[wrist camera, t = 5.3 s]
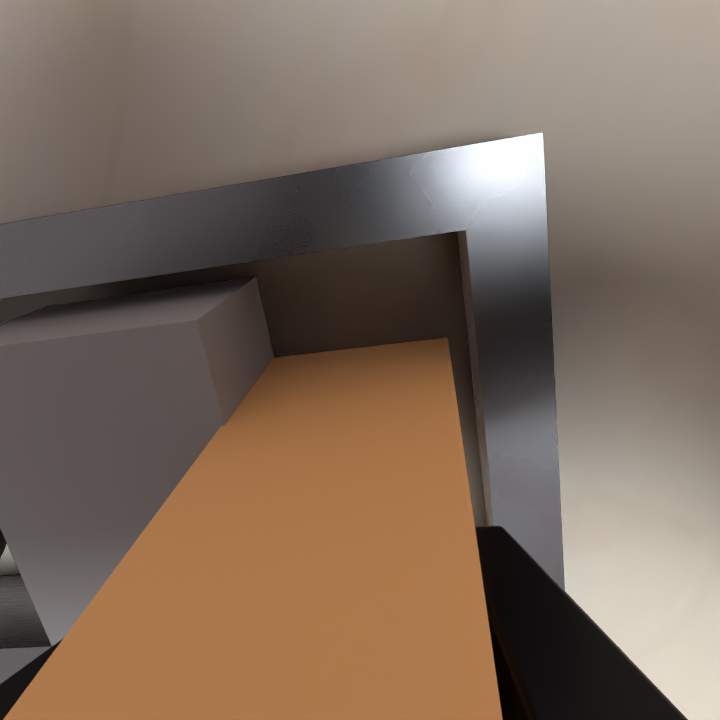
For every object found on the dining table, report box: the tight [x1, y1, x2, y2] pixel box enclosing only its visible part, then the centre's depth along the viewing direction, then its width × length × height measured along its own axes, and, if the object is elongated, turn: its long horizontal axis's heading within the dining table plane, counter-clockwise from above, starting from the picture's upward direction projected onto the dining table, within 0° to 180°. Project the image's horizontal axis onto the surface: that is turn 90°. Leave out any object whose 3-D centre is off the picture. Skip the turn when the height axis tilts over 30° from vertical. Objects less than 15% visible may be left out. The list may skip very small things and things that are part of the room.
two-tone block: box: [0, 277, 503, 720], centre depth 7 cm, size 8×7×10 cm
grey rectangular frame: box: [0, 132, 565, 684], centre depth 12 cm, size 19×10×2 cm, turn 99°
